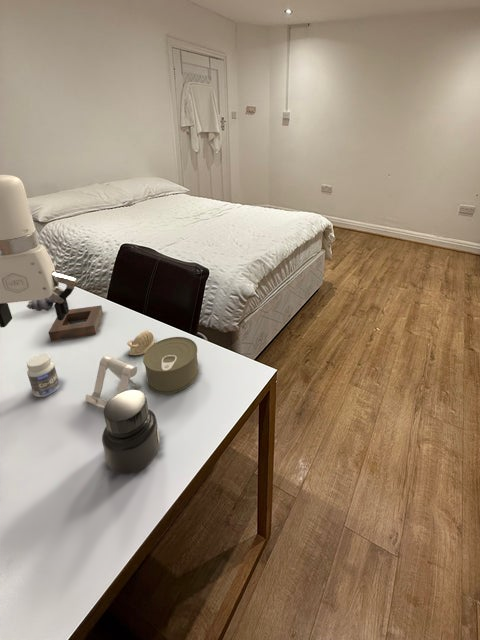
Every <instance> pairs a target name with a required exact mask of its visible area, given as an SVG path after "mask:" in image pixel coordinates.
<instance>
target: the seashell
mask: <svg viewBox="0 0 480 640" xmlns="http://www.w3.org/2000/svg"><path fill="white" fill-rule="evenodd" d="M55 303H56V301H54V300H52V299H51V298H46V299H41V300H32V301H28V304H27V305H26V308H27V309H28V310H32V311H33V310H35V311H38V312H41V311H45V312H48V311H50V310H51V309H52V308H53V306H54V304H55Z"/></svg>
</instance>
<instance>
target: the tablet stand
mask: <svg viewBox="0 0 480 640" xmlns="http://www.w3.org/2000/svg"><path fill="white" fill-rule="evenodd" d="M107 370H109V371H110V372H111V373H112V374H114V376H116V377H117V378H118V379H119V385H118V390H117V394H119V393H122V392H124V391H128V385H129V384H130V385H131V386H132V387H134V388H136V389H138V388H139V385H137V384H136V383H135V382H134V381H133V380H132V379H131V378H133V377H134V376H136V374H137V372H138V368H137V367H136V366H134V365H131V364H129V363H126V362H124V361H122V360H119V359H117V358H115V357H113V356H112V357H111V356H109V355H104V356H102V358H101V359H100V360H99V364H98V370H97V373H96V378H95V384H94V388H93V392H92V395H89V394H85V401H86V402H87V403H90V404H91V405H94V406H95V407H98V408H100V409H102V410H104V408H105V405H106V404H107V403H108V402H109V401H108V400H106V399H104V398H101V396H102V391H103V386H104V382H105V377H106V372H107Z"/></svg>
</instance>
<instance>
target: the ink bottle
mask: <svg viewBox="0 0 480 640" xmlns="http://www.w3.org/2000/svg"><path fill="white" fill-rule="evenodd" d="M107 402H108V403H107V404H106V405H105V408H104V409H103V411H102V412H103V417H104V423H105V428H104V429H103V433H102V435H101V442H102V443H101V444H102V447H103V450H104V456H105V459H106V463H107V466H108V468H109V469H110V470H111V471H112V472H113V473H116V474H118V475H129V474H134V473H137V472H139V471H141V470H143V468H145V467H147V466H148V465H149V464H150V463H151V461H152V460H154V458H155V456H156V455H157V453H158V451H159V448H160V443H161V442H160V441H161V439H160V432H159V425H158V420H157V415H156V414H155V413H154V411H153V410H152V409H149V405H148V404H149V403H148V398H147V396H146V393H144V392H143V391H142V390H138V389H129V390H128V389H127V390H126V391H124V392H122V393H119V394H118V393H117V394H116V395H114V396H113V397H111V398H110V399H109V400H108V401H107Z"/></svg>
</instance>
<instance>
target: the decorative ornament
mask: <svg viewBox="0 0 480 640" xmlns="http://www.w3.org/2000/svg"><path fill="white" fill-rule="evenodd" d="M126 344H127V346H128V347H130V350H129V353H128V355H130V356H131V355H132V356H140V355H144V354H145V353H146V351H147V350H148V349H149V348H150V347H151V346H152V345H153V344H155V339H154V335H153V333H152V332H151V331H150V330H144V331H142V332H140V333H139V334H138V335H137V336H135V338H134V339H131V340H128V341H127V342H126Z"/></svg>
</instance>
